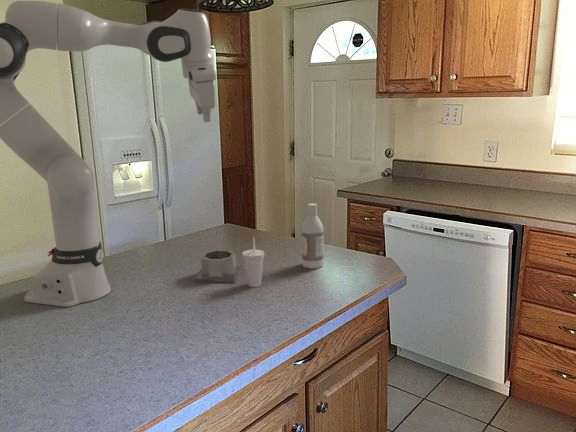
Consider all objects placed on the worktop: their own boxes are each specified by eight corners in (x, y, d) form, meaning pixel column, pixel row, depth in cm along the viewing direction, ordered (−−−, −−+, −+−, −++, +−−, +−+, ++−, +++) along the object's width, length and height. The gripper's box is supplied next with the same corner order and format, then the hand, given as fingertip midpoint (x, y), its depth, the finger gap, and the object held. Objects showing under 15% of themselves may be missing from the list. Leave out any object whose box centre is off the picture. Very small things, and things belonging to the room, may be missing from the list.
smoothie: (269, 282, 144) (268, 236, 141) (256, 290, 139) (255, 242, 136) (252, 278, 148) (250, 233, 144) (238, 286, 142) (236, 239, 139)
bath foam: (298, 263, 160) (297, 203, 155) (317, 260, 162) (317, 201, 158) (307, 270, 154) (306, 207, 149) (327, 267, 156) (327, 205, 151)
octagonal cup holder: (194, 282, 146) (193, 261, 145) (205, 268, 158) (204, 248, 156) (234, 282, 145) (233, 261, 143) (242, 268, 156) (241, 249, 155)
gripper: (181, 65, 148) (187, 111, 155) (193, 76, 131) (199, 127, 137) (202, 63, 150) (207, 108, 156) (217, 74, 133) (222, 124, 139)
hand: (203, 117), depth 147 cm, fingers open, 8 cm apart
